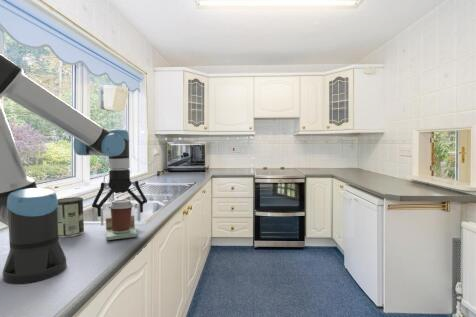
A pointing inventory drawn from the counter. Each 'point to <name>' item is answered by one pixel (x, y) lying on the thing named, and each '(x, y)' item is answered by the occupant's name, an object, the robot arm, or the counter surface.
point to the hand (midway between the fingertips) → (121, 222)
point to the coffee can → (70, 217)
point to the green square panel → (120, 234)
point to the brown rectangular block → (109, 222)
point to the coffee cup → (121, 215)
